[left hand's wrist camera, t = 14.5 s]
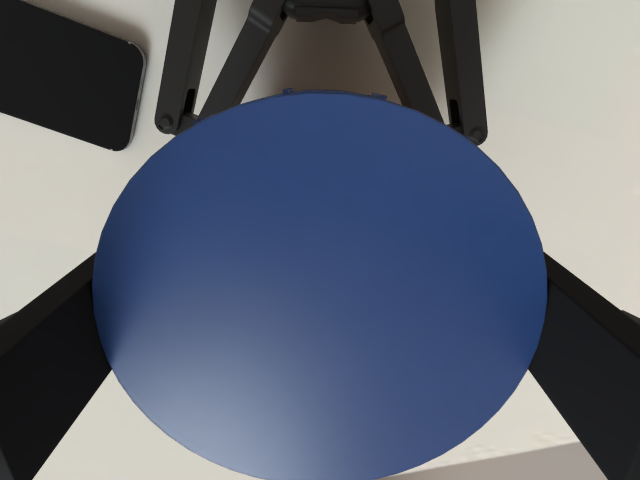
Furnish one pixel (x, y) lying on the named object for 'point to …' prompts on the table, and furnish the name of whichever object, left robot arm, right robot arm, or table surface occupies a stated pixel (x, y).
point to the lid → (319, 287)
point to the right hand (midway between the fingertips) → (317, 256)
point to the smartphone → (68, 75)
